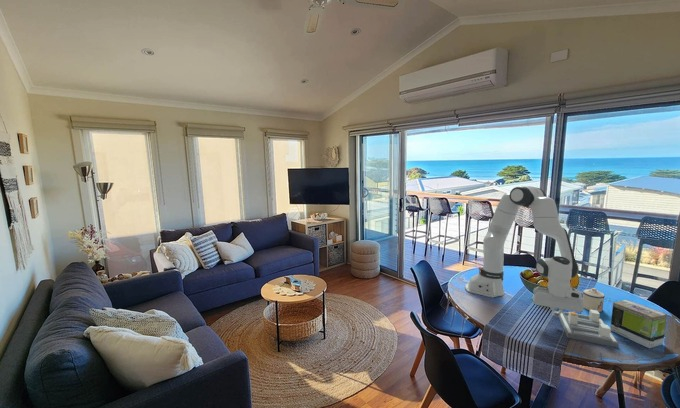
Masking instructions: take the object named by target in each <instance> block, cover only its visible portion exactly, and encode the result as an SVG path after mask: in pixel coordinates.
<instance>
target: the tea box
mask: <svg viewBox="0 0 680 408" xmlns="http://www.w3.org/2000/svg"><path fill="white" fill-rule="evenodd" d="M667 319H668V313H665V312H663V311H659V310H657V309H654V308H651V307H648V306H646V305H643V304H640V303H637V302H634V301H631V300H628V299H623V300H620V301H615V302H612V310H611V317H610V326H609V327H610V329H611V331H610V332H613V333H615V334H617V335H619V336H622V337H624V338H626V339H628V340H631V341H633V342H635V343H636V344H638V345H640V346H643V347H644V348H647V349H652V348H656V347H659V346H662V345H663V344H664V341H665V340H664V339H665V333H666V326H667Z"/></svg>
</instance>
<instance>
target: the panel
mask: <svg viewBox="0 0 680 408" xmlns="http://www.w3.org/2000/svg"><path fill="white" fill-rule="evenodd" d="M569 312H570V311H568V312H567V311H563V312H562V313H561V314H560V317H559V316H557V317H558V319H559V322H560V324H561V327H562V329H563V331H564V333H565V335H566V337H567V338H568V339H572V340H573V339H574V340H577V341H583V342H588V343H593V344H598V345H604V346H607V347H613V348H619V342H618V341H617V339H616V338H615V336H614V335H613V334H612V331H611V329H610V327H611V326H609V325H608V324H606V323H605V322H604V321H603V319H602V318H600V315H601V313H600V312H598V311H597V310H591V309H590V311H589V315H586V314H579V313H576V314H577V315H578V323H577V324H571V323H570V325H569V323H568V313H569Z"/></svg>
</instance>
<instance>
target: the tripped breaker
mask: <svg viewBox="0 0 680 408" xmlns="http://www.w3.org/2000/svg"><path fill="white" fill-rule="evenodd" d="M568 312H569V313H568V323H569V325H570V323H571V324H577V323H578V315H577V314H578V313H577V311H571V310H569V311H568Z"/></svg>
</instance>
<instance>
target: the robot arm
mask: <svg viewBox="0 0 680 408" xmlns="http://www.w3.org/2000/svg"><path fill="white" fill-rule="evenodd" d="M521 207H526V208H528V207H529V208H530V209H531V211H532V224H533V227H534V229H535V230H536V231H537V232H538V233H540V234H541V235H544V236H546V237H549V238H552V239H553V240H555V241H556V243H557V245H558V249H559V252H560V253H559V254H560V256H559V255H558V256H555V255H554V256H552V257H545V258H539V259H538V260H537V261H536V263H535V270H536V272H537V274H539V275H540V276H542V277H544V278H547V279H548V281H547V287H541V286H537V287H534V288H533V290H532V293H533V297H532V302H533V303H534V304H535V305H537V306H542V307H548V308H550V310H551V312H552V313H551V315H552V316H553V317H558V316H559V317H560V314H561V313H562V312H564V310H565V311H571V312H576V313H577V312H578V313H583V311H584V310H585V308H584V304H583V293H581V292H580V290H579V289H578V288H575V287H572V286H571V279H573V278H575V277H576V276H577V275H578V274H579V271H580V267H579V265H578V262H577V261H576V258H575V255H574V251H573V248H572V247H573V246H572V243H571V240H570V237H569V234H568V231H567V229H566V228H564V227H563V226H562V225H561V223H560V221H559V212H558V207H557V204H556V200H554V199H553V198H552V197H549V196H547V194H546V192H545V190H543V189H541V188H539V187H536V186H529V185H526V186H525V185H524V186H523V185H520V186H519V185H518V186H515V187H513V188H512V189H511V190H510V192H506V193H504V194H503V195H502V196H501V198H500V200H499V201H498V204H497V205H496V208H495V210H494V213H493V215H492V219H491V221H490V224H489V227H488V229H487V231H486V234H485V236H484V238H483V242H482V243H483V244H482V245H483V246H482V248H483V249H482V251H483V253H482V254H483V264H482V266H479V267H478V270H479V271H478V273H477V274H475V275H473V276H471V277H470V278H469V281H468V282H466V283H465V286H464V289H465V291H466V292H468V293H471V294H476V295H480V296H484V297H488V298H495V297H502V296H504V295H505V290H504V283H503V281H504V277H505V276H504V275H505V273H504V257H505V256H504V252H505V251H504V248H505V244H506V243H505V242H506V240H507V238H508V235H509V233H510V231H511V229H512V226H513V224H514V222H515V219H516V216H517V214H518V212H519V209H520V208H521ZM555 309H559V310H558V311H556V310H555ZM559 317H558V318H559Z"/></svg>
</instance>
